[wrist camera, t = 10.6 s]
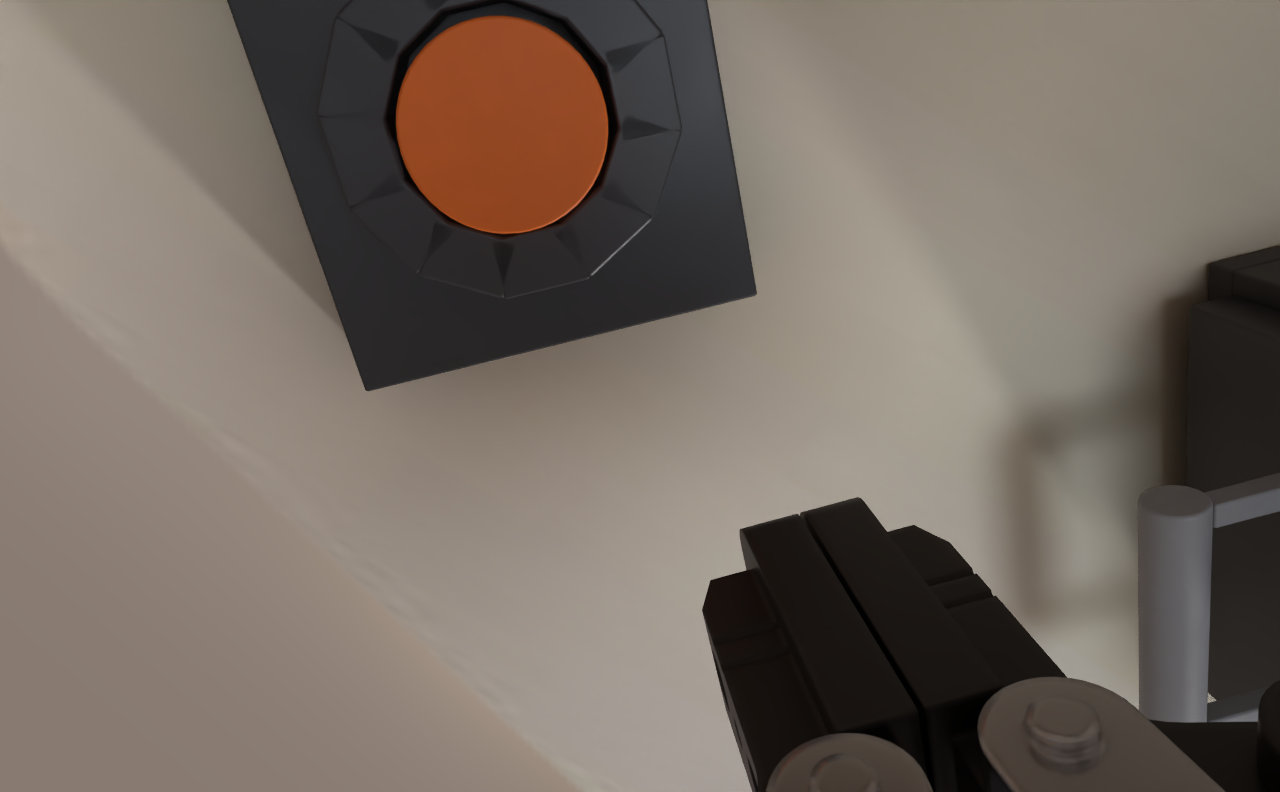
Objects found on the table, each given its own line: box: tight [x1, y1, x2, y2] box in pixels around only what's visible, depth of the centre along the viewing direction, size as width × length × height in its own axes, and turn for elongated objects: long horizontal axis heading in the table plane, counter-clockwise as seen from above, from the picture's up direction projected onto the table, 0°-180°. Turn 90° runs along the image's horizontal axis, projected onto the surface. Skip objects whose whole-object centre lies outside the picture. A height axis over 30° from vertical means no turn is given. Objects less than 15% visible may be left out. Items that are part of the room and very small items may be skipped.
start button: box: [396, 16, 608, 234], centre depth 16 cm, size 4×4×2 cm
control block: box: [227, 0, 757, 391], centre depth 19 cm, size 10×9×4 cm
